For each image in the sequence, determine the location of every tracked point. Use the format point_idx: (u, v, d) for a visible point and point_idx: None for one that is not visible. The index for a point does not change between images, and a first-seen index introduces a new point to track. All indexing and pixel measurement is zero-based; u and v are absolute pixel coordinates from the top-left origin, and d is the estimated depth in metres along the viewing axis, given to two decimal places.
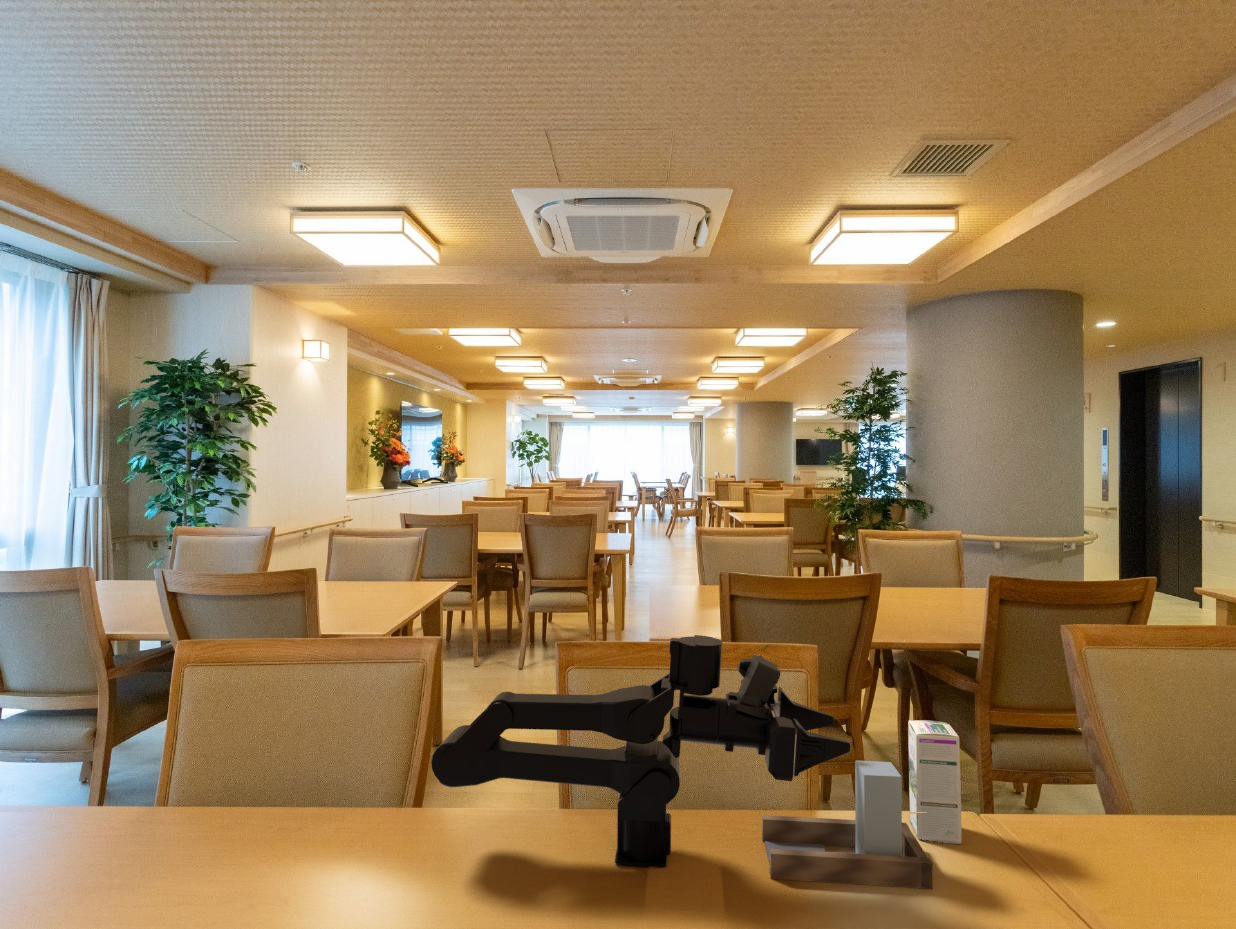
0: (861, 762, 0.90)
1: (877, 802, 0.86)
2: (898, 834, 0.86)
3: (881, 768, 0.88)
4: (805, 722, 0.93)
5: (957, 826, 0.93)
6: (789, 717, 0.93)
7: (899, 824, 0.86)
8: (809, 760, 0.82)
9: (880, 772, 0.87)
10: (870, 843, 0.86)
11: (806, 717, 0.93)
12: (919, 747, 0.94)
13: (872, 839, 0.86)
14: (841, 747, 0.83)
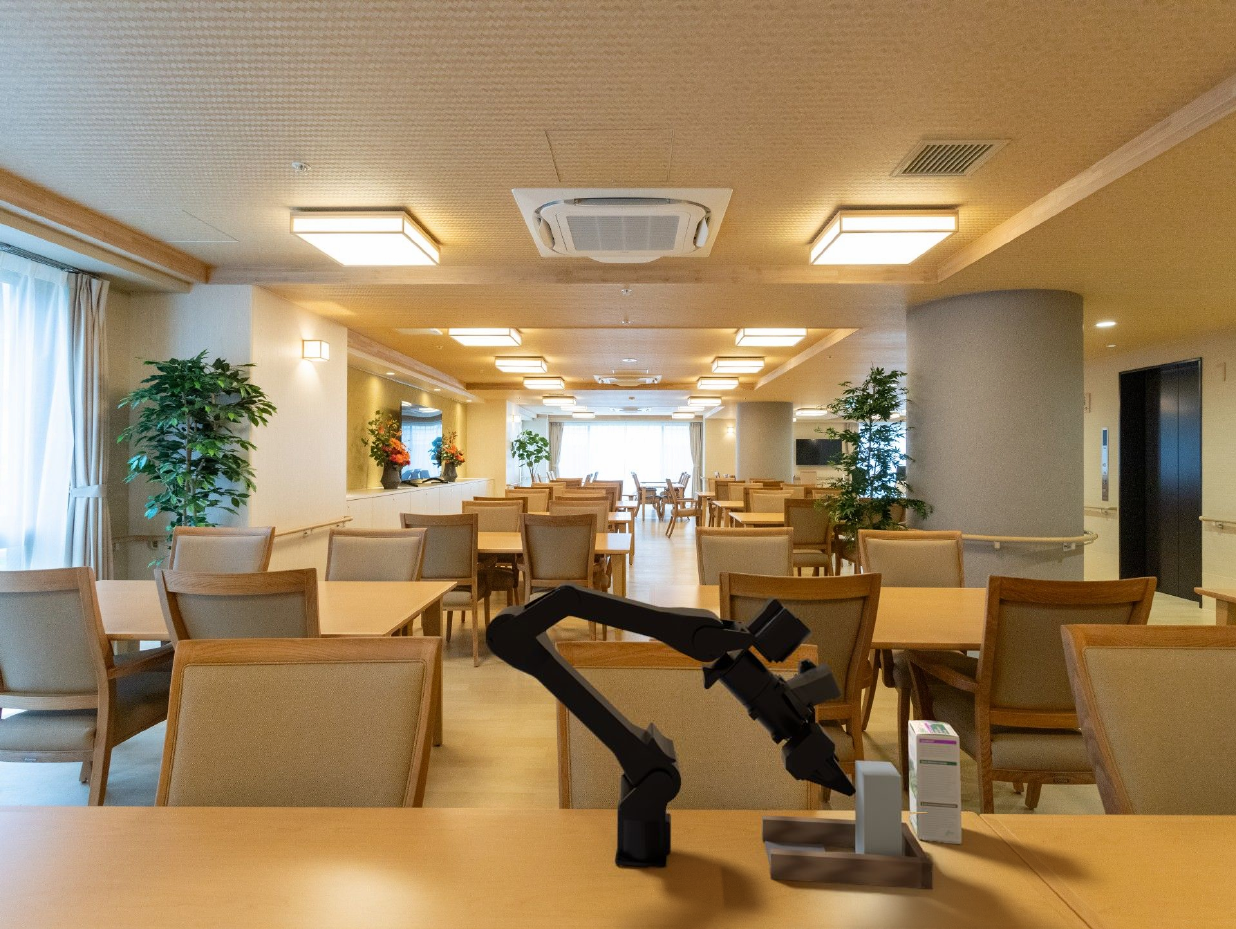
0: (861, 762, 0.90)
1: (877, 802, 0.86)
2: (898, 834, 0.86)
3: (881, 768, 0.88)
4: None
5: (957, 826, 0.93)
6: None
7: (899, 824, 0.86)
8: (817, 777, 0.83)
9: (880, 772, 0.87)
10: (870, 843, 0.86)
11: None
12: (919, 747, 0.94)
13: (872, 839, 0.86)
14: (847, 787, 0.84)
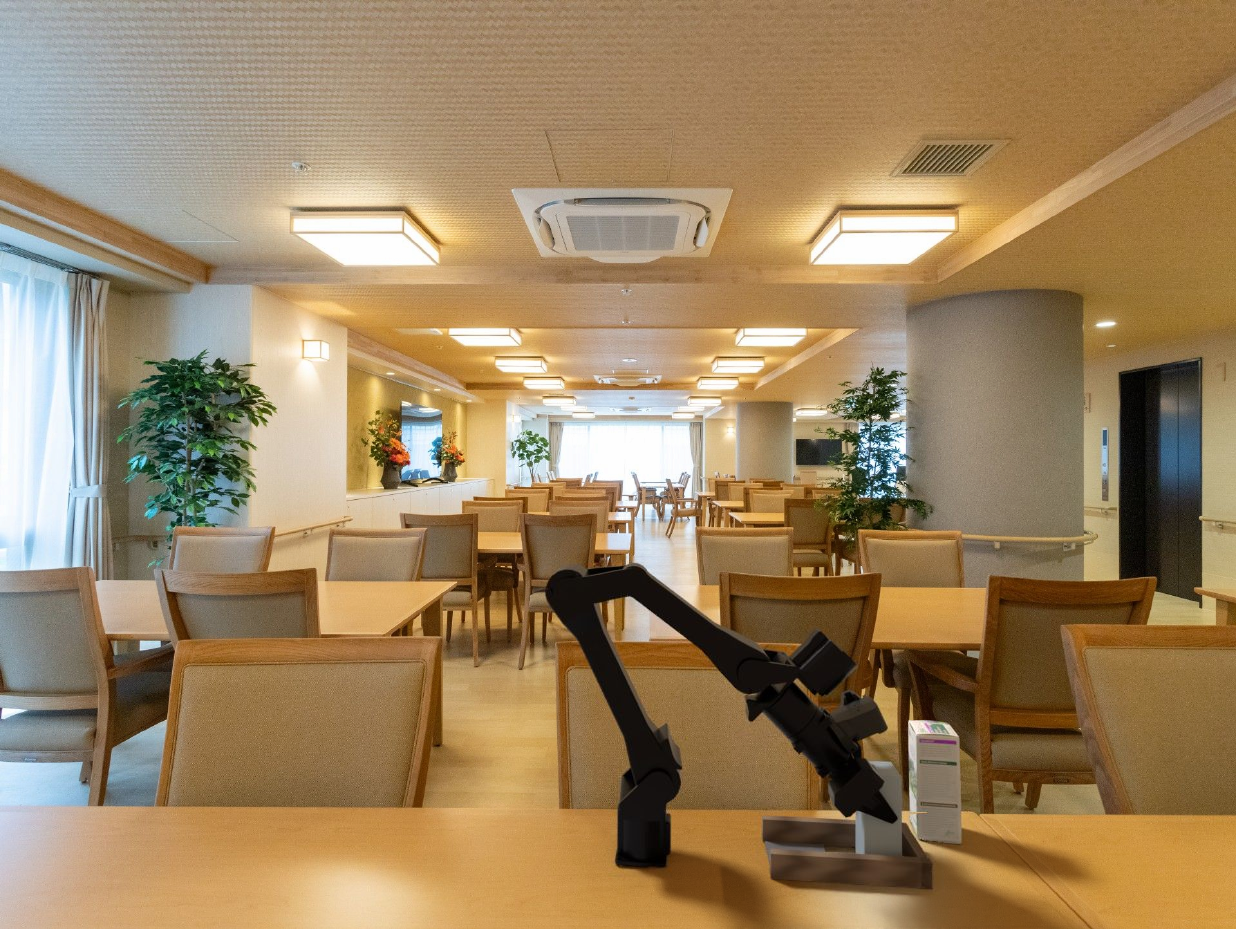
0: None
1: None
2: (898, 834, 0.86)
3: (881, 768, 0.88)
4: None
5: (957, 826, 0.93)
6: None
7: (899, 824, 0.86)
8: None
9: (880, 772, 0.87)
10: (870, 843, 0.86)
11: None
12: (919, 748, 0.94)
13: (872, 839, 0.86)
14: (889, 815, 0.85)
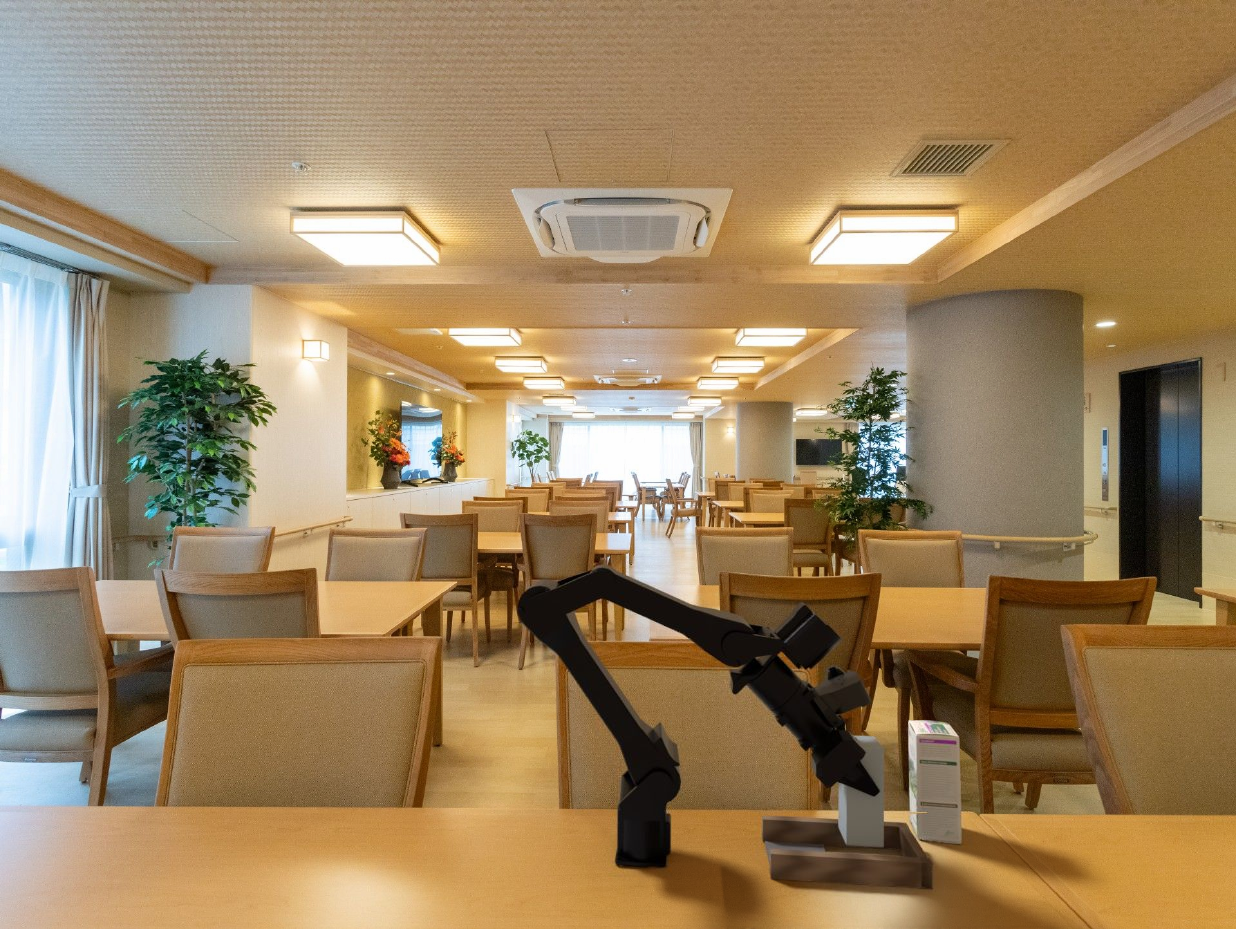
0: None
1: None
2: (880, 807, 0.86)
3: (865, 741, 0.89)
4: None
5: (957, 826, 0.93)
6: None
7: (881, 797, 0.86)
8: (842, 776, 0.85)
9: (863, 745, 0.87)
10: (852, 815, 0.86)
11: None
12: (919, 747, 0.94)
13: (854, 812, 0.86)
14: (871, 788, 0.86)
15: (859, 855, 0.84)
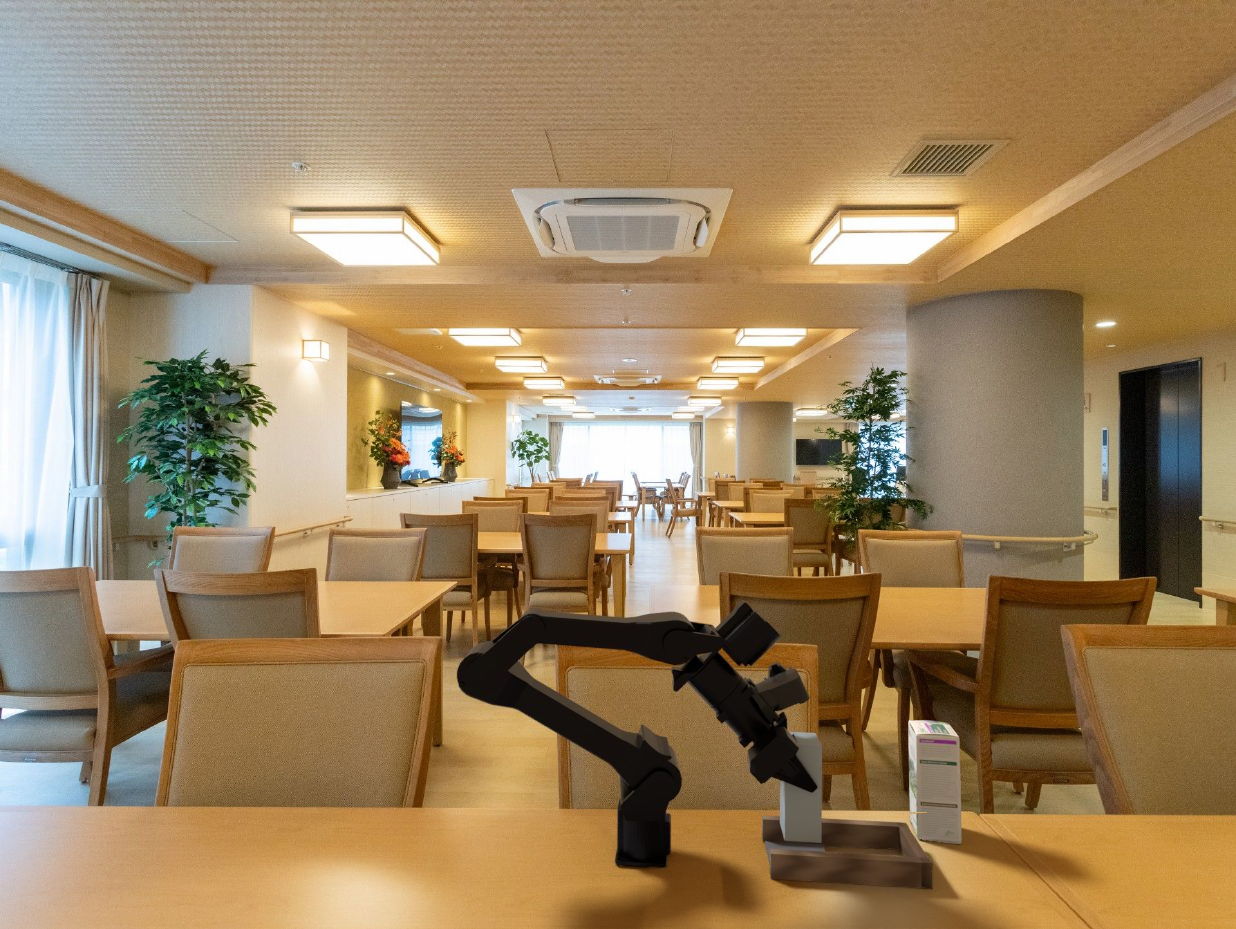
0: None
1: None
2: (818, 803, 0.87)
3: (804, 738, 0.89)
4: None
5: (957, 826, 0.93)
6: None
7: (819, 793, 0.87)
8: (779, 773, 0.85)
9: (802, 742, 0.88)
10: (791, 811, 0.87)
11: None
12: (919, 747, 0.94)
13: (792, 807, 0.87)
14: (809, 784, 0.86)
15: (859, 855, 0.84)
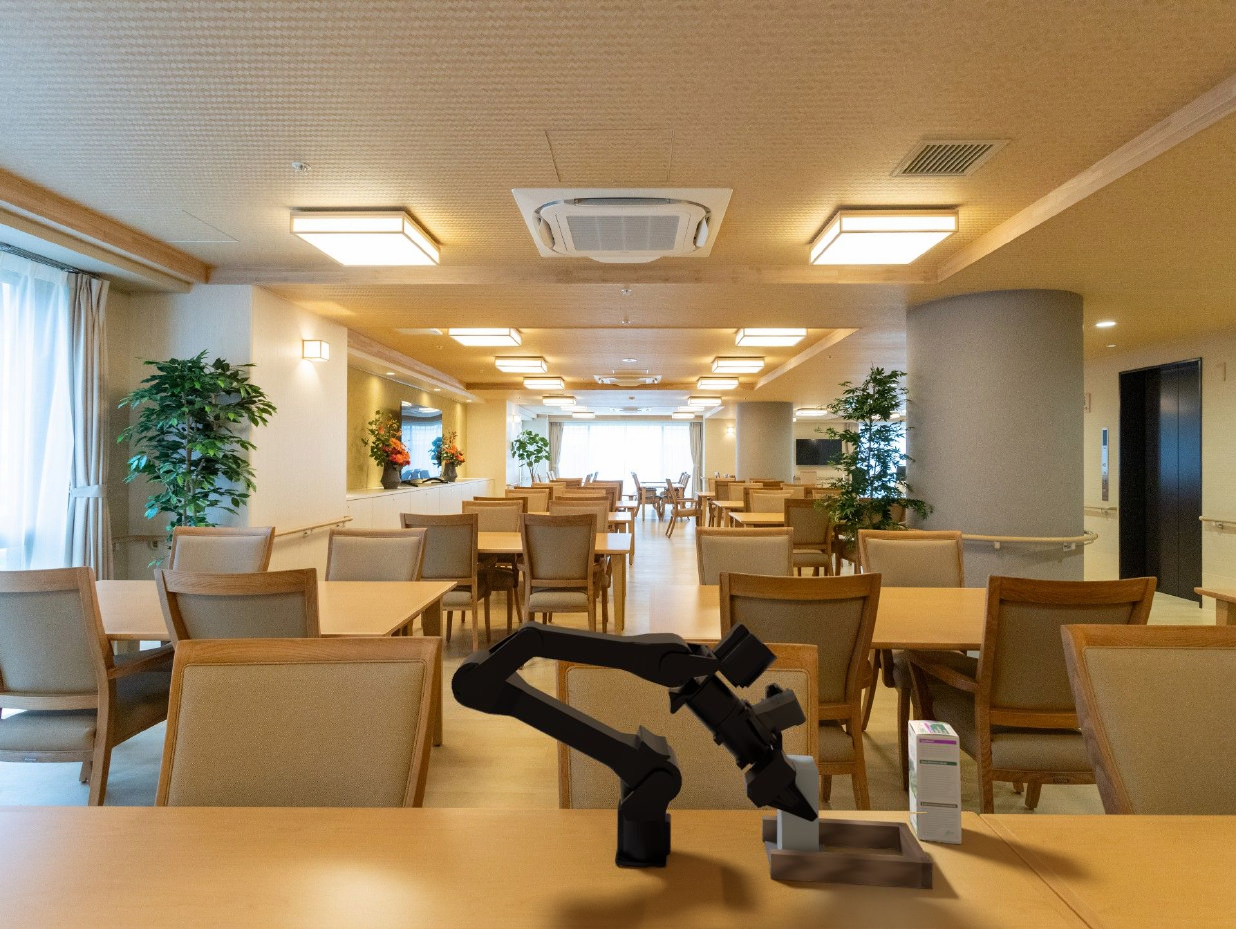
0: None
1: None
2: (815, 827, 0.87)
3: (801, 761, 0.89)
4: None
5: (957, 826, 0.93)
6: None
7: None
8: (779, 802, 0.84)
9: (799, 766, 0.88)
10: (788, 835, 0.87)
11: None
12: (919, 748, 0.94)
13: (789, 832, 0.87)
14: (809, 813, 0.85)
15: (859, 855, 0.84)
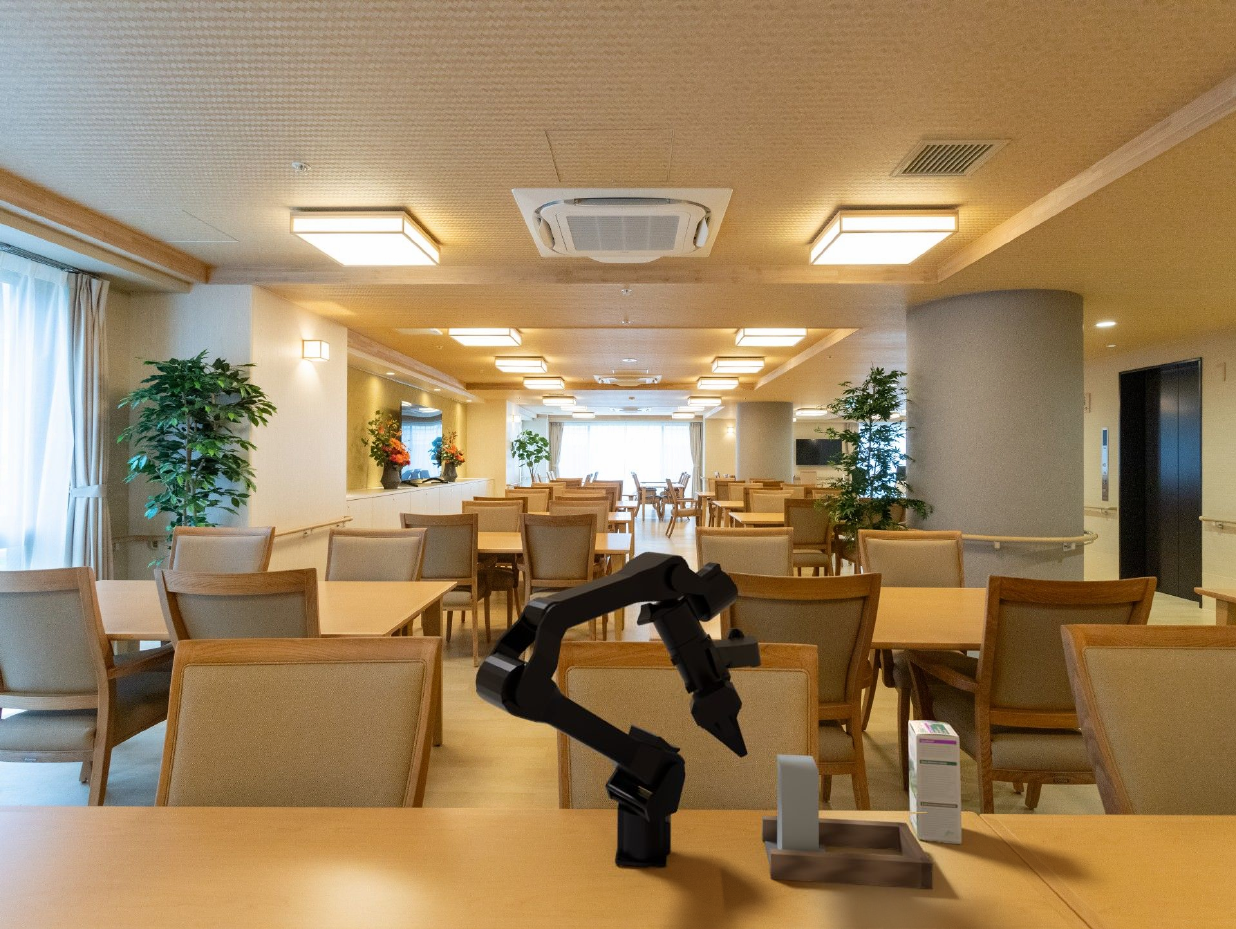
0: (783, 756, 0.91)
1: (795, 795, 0.87)
2: (815, 827, 0.87)
3: (801, 761, 0.89)
4: None
5: (957, 826, 0.93)
6: None
7: (816, 817, 0.87)
8: (716, 730, 0.87)
9: (799, 766, 0.88)
10: (788, 835, 0.87)
11: None
12: (919, 748, 0.94)
13: (789, 832, 0.87)
14: (740, 748, 0.88)
15: (859, 855, 0.84)
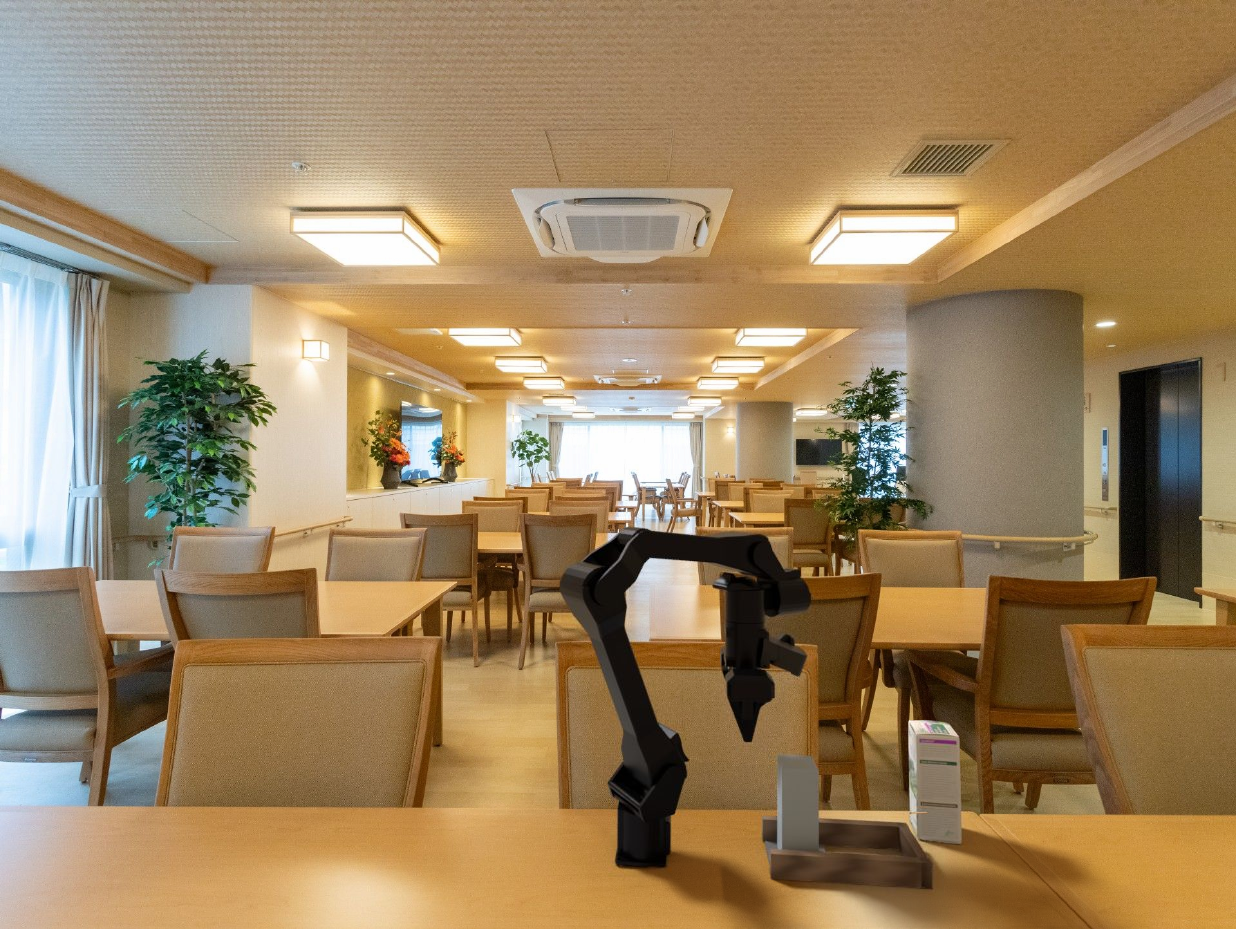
0: (783, 756, 0.91)
1: (795, 795, 0.87)
2: (815, 827, 0.87)
3: (801, 761, 0.89)
4: None
5: (957, 826, 0.93)
6: None
7: (816, 817, 0.87)
8: (737, 708, 0.93)
9: (799, 766, 0.88)
10: (788, 835, 0.87)
11: None
12: (919, 747, 0.94)
13: (789, 832, 0.87)
14: (748, 734, 0.94)
15: (859, 855, 0.84)
